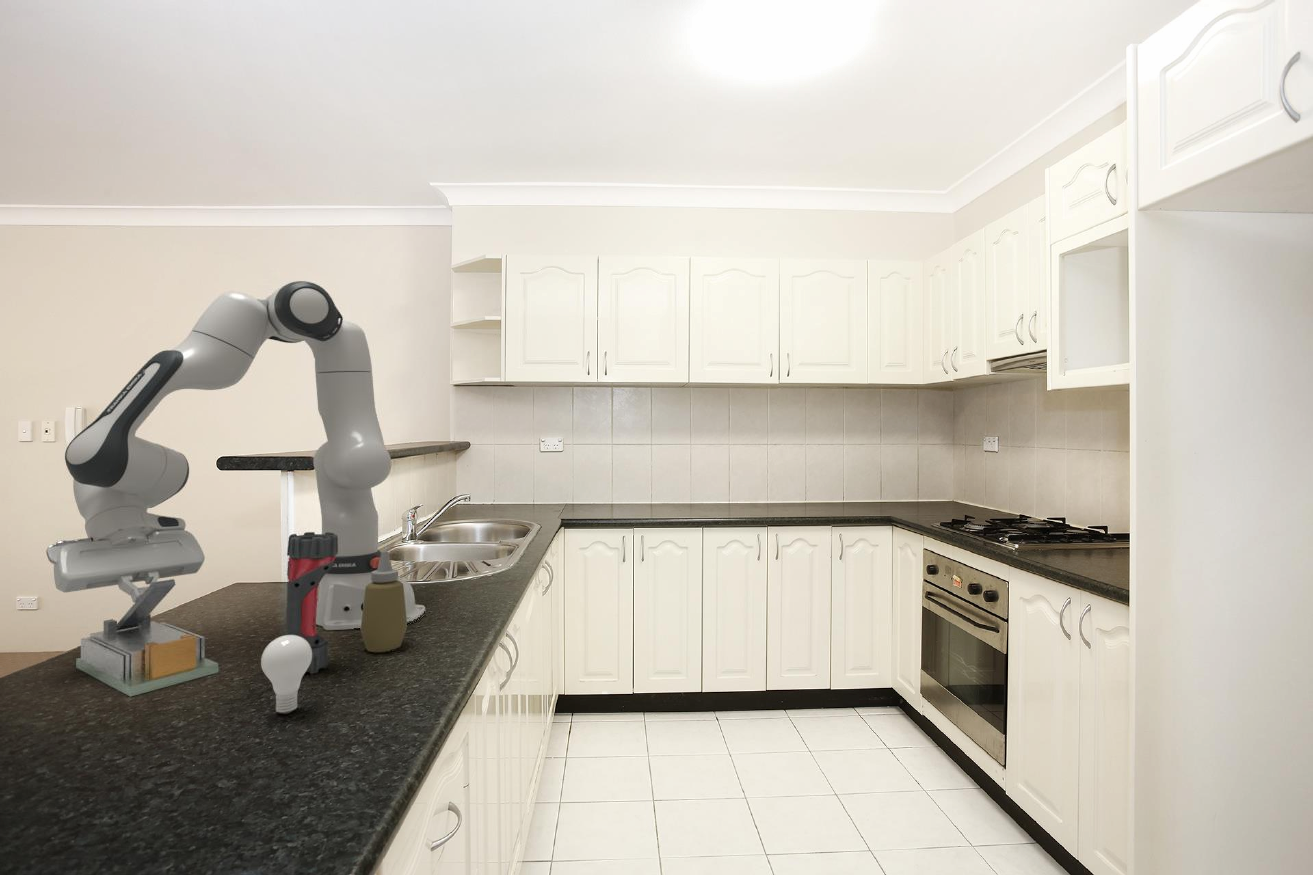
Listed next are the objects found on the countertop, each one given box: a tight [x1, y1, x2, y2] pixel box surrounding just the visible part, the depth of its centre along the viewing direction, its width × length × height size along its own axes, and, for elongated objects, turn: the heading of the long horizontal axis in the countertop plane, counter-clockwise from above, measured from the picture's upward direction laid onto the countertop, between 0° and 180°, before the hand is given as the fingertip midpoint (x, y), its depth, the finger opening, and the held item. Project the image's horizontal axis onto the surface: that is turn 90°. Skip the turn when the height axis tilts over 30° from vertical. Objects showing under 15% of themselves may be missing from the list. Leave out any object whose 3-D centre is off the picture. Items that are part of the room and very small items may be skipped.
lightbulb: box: [260, 634, 312, 715], centre depth 92 cm, size 6×6×11 cm
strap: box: [117, 578, 176, 631], centre depth 109 cm, size 18×3×1 cm
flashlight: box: [283, 531, 338, 675], centre depth 109 cm, size 8×8×23 cm
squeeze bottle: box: [360, 550, 408, 653], centre depth 120 cm, size 8×8×18 cm
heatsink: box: [75, 613, 219, 697], centre depth 108 cm, size 22×12×8 cm, turn 58°
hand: (145, 598), depth 108 cm, fingers closed, pressing on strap
